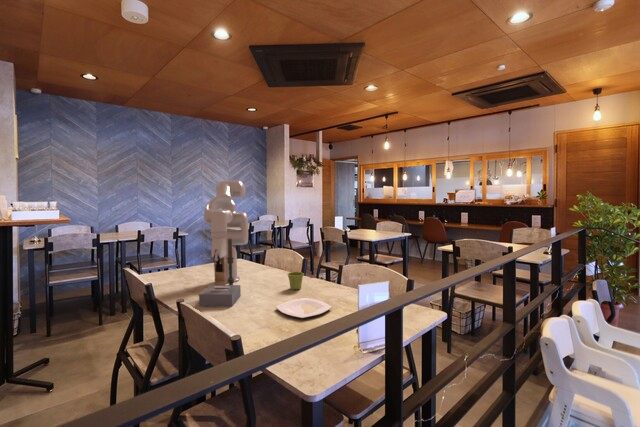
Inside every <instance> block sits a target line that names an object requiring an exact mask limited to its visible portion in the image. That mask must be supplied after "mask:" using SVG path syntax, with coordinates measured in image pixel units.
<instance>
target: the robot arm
mask: <svg viewBox="0 0 640 427" xmlns="http://www.w3.org/2000/svg"><path fill="white" fill-rule="evenodd" d="M215 190H216V195H215V197H213V198H211V199H210V200H209V201H208V202H207V203H206V204H205V207H204V212H203V220H204V222H205V224H209V225H210V226H211V228H210V230H211V232H210V234H211V239H212V240H211V255H210V256H211V259H214V258H215V261H216V272H222V271H223V268H222V257H225V261H226V284H227V283H228V284H229V282H228V279H229V276H230V275H229V264H228V262H227V261H228V260H227V258H228V239H232V257H234V259H233V263H232V277H233V278H234V282H233V283H237V282H239V281H240V280H241V278H240V276H238V252H237V249H236V248H235V247H234V246H245V245H247V244H248V242H249V218H248V214H247V213H246V212H242V211H241V212H238V211H236V203H235V202H234V200H233V198H243V197H245V195H246V186H245V184H244V183H243V181H240V180H221V181H219V183H218V184H217V186H216V187H215ZM228 228H231V229H228ZM232 228H233V229H232ZM234 228H240V229H234ZM218 257H219V258H218ZM219 259H220V260H219Z"/></svg>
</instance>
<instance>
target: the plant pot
mask: <svg viewBox="0 0 640 427" xmlns="http://www.w3.org/2000/svg"><path fill="white" fill-rule="evenodd" d="M304 275H305V273H303V272H301V271H292V272H291V271H290V272H288V273H287V276H288V280H289V288H290V290H292V289H296V290H297V289H299V290H301V289H302V286H303V285H302V283H303V278H304ZM300 288H301V289H300Z"/></svg>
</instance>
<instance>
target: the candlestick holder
mask: <svg viewBox="0 0 640 427" xmlns="http://www.w3.org/2000/svg"><path fill="white" fill-rule="evenodd" d="M232 246H233V245H232V239H228V258H227V260H228V261H227V262H228V264H229V275H230V276H229V279H228V282H229V283H228V285H234V283H235V282H234V278H233V277H232V263H233V259H234V257H232Z"/></svg>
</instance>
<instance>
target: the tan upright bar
mask: <svg viewBox="0 0 640 427" xmlns="http://www.w3.org/2000/svg"><path fill="white" fill-rule="evenodd" d="M218 258H219V257H218ZM219 260H220V259H219ZM213 267H214V268H213V270H214V285H227V283H226V261H225V257H222V268H223V271H222V272H216V261H215V258H213Z"/></svg>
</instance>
